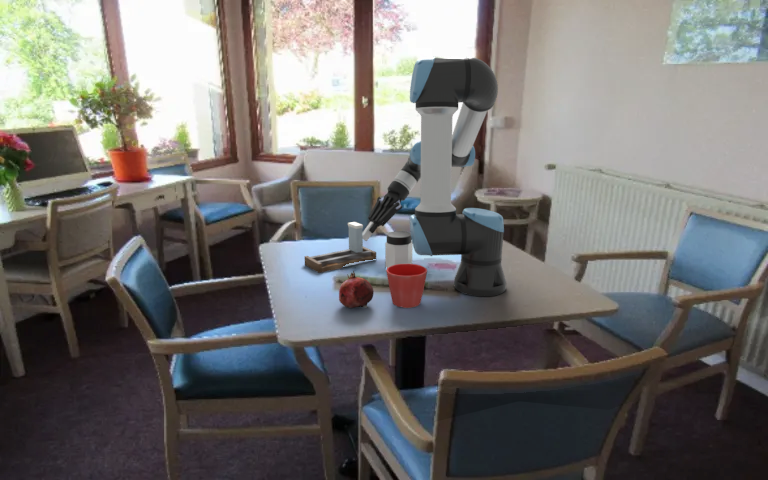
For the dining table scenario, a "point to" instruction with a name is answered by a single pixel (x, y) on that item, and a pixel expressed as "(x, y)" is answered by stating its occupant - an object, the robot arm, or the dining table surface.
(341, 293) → the fruit
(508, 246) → the dining table surface
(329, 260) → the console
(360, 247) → the slider tab
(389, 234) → the jar
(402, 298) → the flower pot
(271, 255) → the dining table surface
